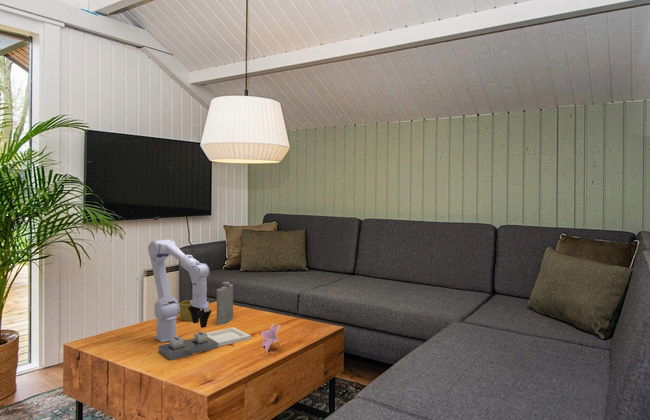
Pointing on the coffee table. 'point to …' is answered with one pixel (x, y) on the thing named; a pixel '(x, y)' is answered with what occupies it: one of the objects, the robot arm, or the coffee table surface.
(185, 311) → the flower pot
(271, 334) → the lily
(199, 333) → the block
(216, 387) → the coffee table surface
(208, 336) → the white square tray
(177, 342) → the billet
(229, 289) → the hip flask
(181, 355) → the metal frame
